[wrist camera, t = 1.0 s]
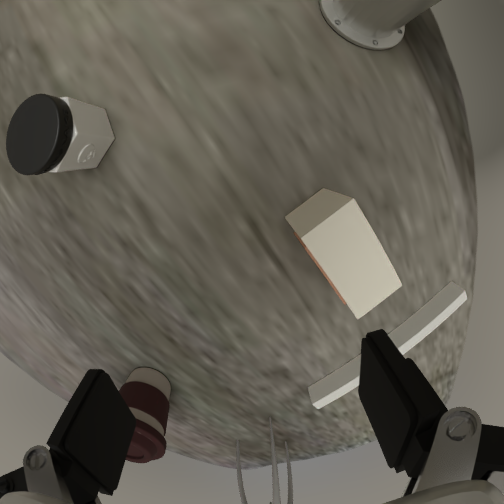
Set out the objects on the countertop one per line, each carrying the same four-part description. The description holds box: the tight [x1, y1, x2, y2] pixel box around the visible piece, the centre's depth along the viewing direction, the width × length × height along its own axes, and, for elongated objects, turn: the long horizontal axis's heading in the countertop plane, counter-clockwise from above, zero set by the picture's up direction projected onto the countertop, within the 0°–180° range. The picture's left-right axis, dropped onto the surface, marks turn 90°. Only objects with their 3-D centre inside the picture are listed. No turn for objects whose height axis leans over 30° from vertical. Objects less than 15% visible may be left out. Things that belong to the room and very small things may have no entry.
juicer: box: [236, 417, 293, 504], centre depth 33 cm, size 10×9×30 cm
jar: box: [6, 94, 115, 175], centre depth 24 cm, size 9×8×12 cm
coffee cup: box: [119, 367, 171, 463], centre depth 34 cm, size 10×10×15 cm
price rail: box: [308, 281, 467, 409], centre depth 39 cm, size 30×2×4 cm, turn 128°
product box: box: [285, 188, 402, 319], centre depth 30 cm, size 6×11×10 cm, turn 38°
